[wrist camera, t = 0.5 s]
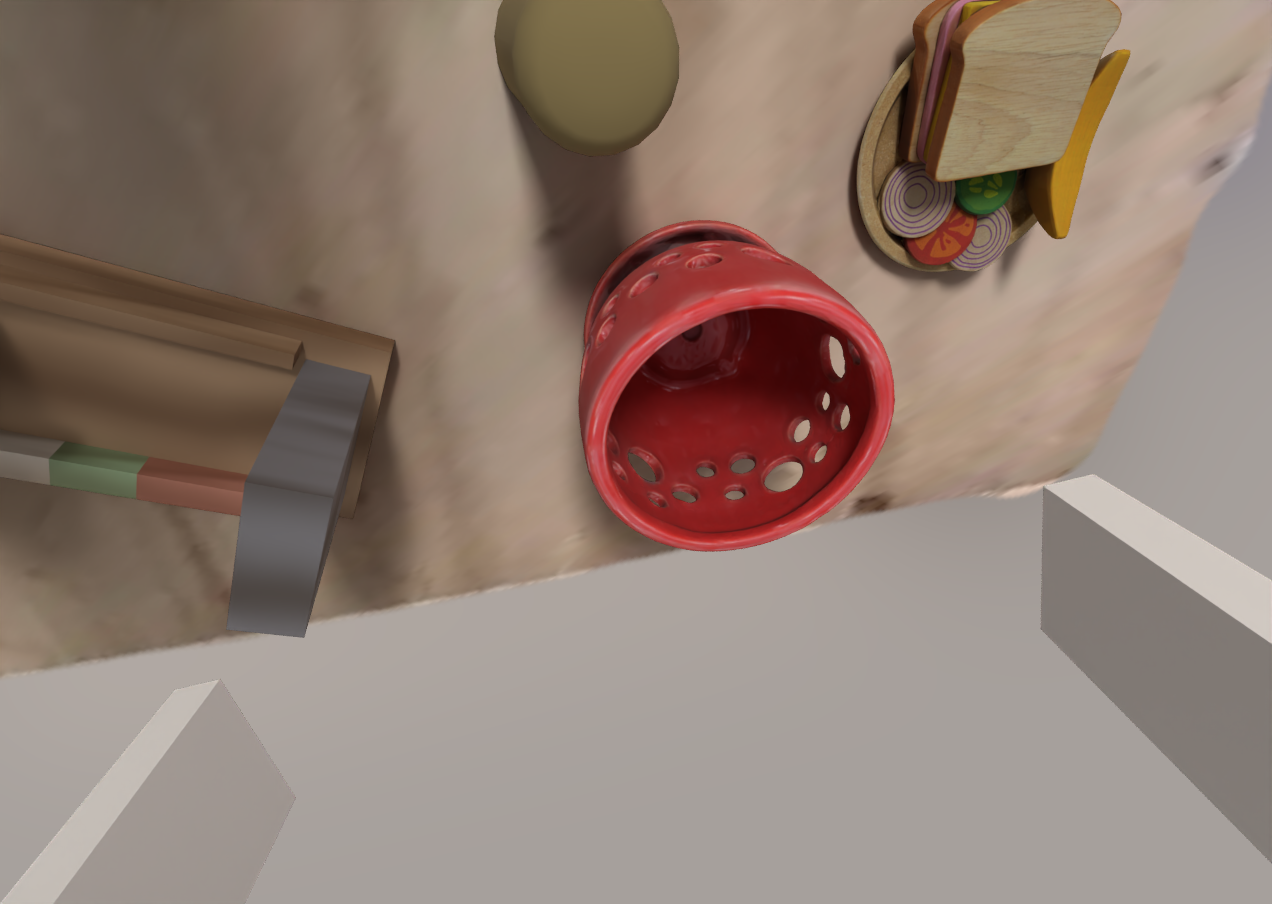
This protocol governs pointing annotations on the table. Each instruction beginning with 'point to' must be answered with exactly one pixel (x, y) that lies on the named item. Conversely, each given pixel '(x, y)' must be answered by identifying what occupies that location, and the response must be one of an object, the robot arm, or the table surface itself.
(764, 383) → the plant pot
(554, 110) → the olive knobbed pawn
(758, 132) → the table surface
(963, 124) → the toy sandwich meal
